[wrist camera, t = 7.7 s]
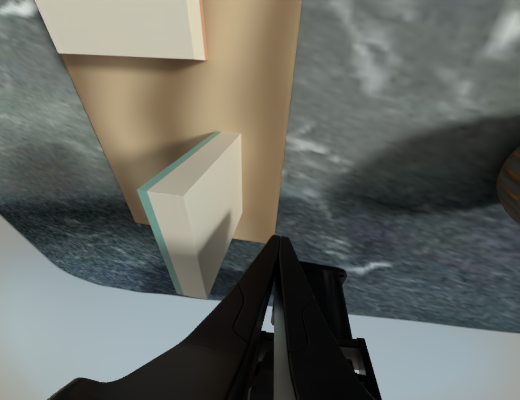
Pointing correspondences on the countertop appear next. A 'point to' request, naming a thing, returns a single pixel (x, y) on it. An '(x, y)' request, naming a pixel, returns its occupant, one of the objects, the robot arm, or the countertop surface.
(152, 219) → the teal tile
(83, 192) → the countertop surface
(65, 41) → the terracotta tile
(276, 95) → the cork mat
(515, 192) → the vase
